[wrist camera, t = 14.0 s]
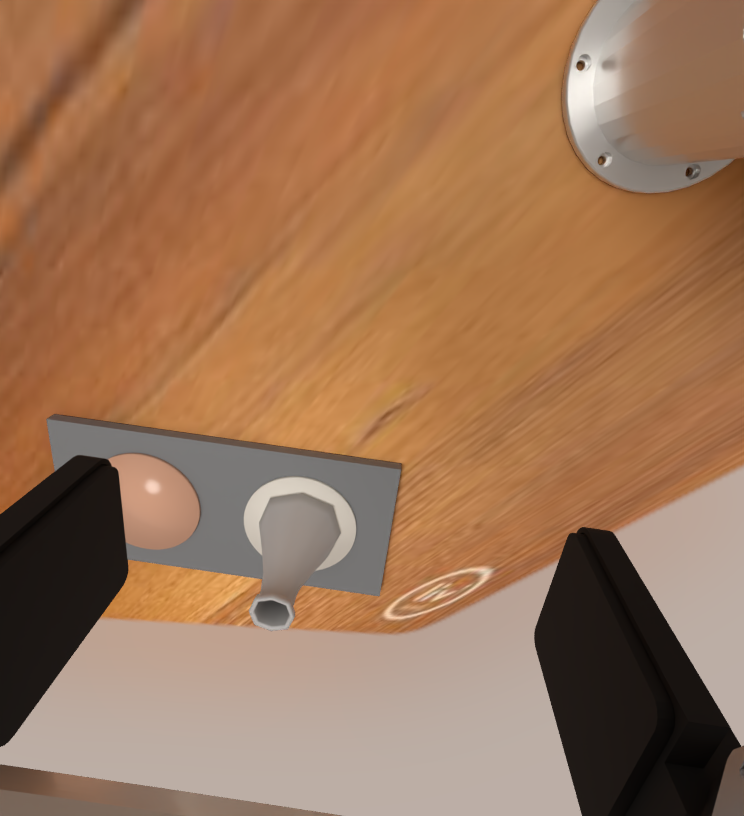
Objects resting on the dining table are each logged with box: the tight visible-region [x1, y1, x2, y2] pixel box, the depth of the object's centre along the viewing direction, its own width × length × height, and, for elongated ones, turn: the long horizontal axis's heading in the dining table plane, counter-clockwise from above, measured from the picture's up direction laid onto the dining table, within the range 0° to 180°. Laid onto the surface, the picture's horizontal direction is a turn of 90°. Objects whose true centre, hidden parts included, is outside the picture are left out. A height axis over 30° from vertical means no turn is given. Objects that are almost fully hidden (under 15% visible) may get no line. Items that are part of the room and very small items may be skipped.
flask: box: [249, 493, 341, 631], centre depth 39 cm, size 7×7×10 cm
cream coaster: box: [244, 476, 356, 571], centre depth 44 cm, size 10×10×1 cm
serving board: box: [46, 414, 401, 596], centre depth 44 cm, size 30×14×1 cm, turn 83°
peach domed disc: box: [108, 453, 201, 550], centre depth 44 cm, size 10×10×1 cm
